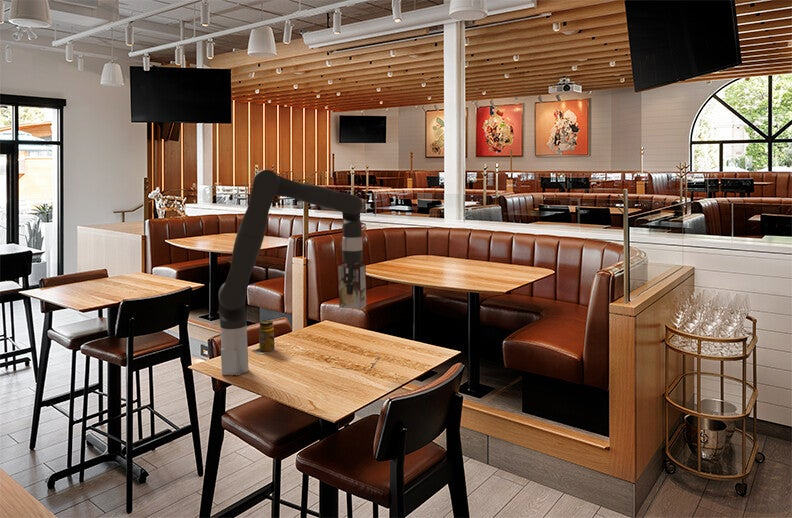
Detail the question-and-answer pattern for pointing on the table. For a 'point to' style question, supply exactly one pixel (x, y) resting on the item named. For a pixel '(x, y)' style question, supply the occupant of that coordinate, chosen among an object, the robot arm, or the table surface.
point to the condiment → (266, 338)
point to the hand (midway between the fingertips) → (352, 292)
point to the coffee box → (359, 288)
